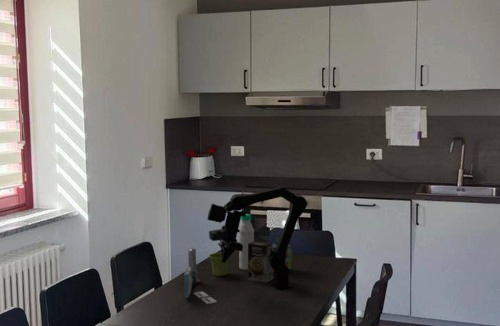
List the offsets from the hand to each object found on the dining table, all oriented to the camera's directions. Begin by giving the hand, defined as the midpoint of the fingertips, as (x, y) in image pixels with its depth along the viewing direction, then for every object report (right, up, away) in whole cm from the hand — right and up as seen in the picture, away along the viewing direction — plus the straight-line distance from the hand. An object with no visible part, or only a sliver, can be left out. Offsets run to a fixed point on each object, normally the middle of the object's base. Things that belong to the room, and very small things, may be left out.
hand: (223, 262), depth 253 cm
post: (-14, -10, +14) cm, 22 cm away
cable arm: (-14, -11, +1) cm, 18 cm away
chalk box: (+24, -9, +29) cm, 39 cm away
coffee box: (+15, -10, +16) cm, 24 cm away
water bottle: (+9, -8, +34) cm, 36 cm away
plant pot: (-3, -9, +25) cm, 26 cm away
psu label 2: (-5, -13, -11) cm, 18 cm away
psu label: (-9, -12, -4) cm, 16 cm away
